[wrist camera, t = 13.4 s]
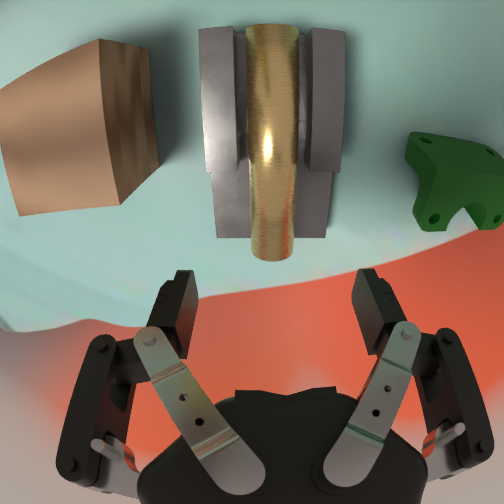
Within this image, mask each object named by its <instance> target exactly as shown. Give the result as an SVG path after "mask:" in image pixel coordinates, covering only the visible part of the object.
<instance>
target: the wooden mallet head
mask: <svg viewBox="0 0 504 504" xmlns="http://www.w3.org/2000/svg"><path fill="white" fill-rule="evenodd" d="M0 145H1V151H2V155H3V160H4V165H5V169H6V173H7V177H8V181H9V184H10V188H11V191H12V195H13V198H14V201H15V205H16V208H17V211H18V214H19V217H20V216H27V215H34V214H41V213H49V212H57V211H66V210H75V209H84V208H94V207H105V206H117V205H121V204H122V203H123V202H124V201H125V200H126V199H127V198H128V197H129V196H130V195H131V194H132V193H133V192H134V191H135V190H136V189H137V188H138V187H139V186H140V185H141V184H142V183H143V182H144V181H145V180H146V179H147V178H148V177H149V176H150V175H151V174H152V173H153V172H155V171H156V170H157V169H158V168H159V167H160V164H159V157H158V149H157V141H156V132H155V123H154V113H153V102H152V89H151V74H150V54H149V49H146V48H142V47H138V46H134V45H129V44H125V43H120V42H114V41H109V40H103V39H97V40H94V41H91V42H89V43H86V44H84V45H81V46H79V47H77V48H74V49H72V50H70V51H68V52H65V53H63V54H61V55H59V56H57V57H55V58H53V59H51V60H49V61H47V62H45V63H43V64H41V65H39V66H38V67H36V68H34V69H32V70H30V71H29V72H27V73H25V74H24V75H22V76H20V77H19V78H17V79H15V80H14V81H12V82H11V83H9V84H8V85H6V86H5V87H3V88H2V89H0Z"/></svg>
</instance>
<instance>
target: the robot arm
mask: <svg viewBox="0 0 504 504" xmlns="http://www.w3.org/2000/svg"><path fill="white" fill-rule="evenodd" d="M352 304H353V307H354V310H355V313H356V316H357V320H358V323H359V326H360V329H361V332H362V335H363V339H364V341H365V345H366V348H367V352H368V355H375V354H376V355H377V358H378V359H377V361H376V363H375V364H374V367H373V369H372V371H371V372H370V375H369V376H368V378H367V380H366V382H365V384H364V386H363V388H362V390H361V391H360V393H359V395H358V396H357V398H356V399H355V398H352V397H350V396H348V395H345V394H341V393H337V391H336V386H333V387H322V388H311V389H308V390H305V391H301V392H298V393H295V394H291V395H281V394H275V393H270V392H265V391H261V390H235V397H230V398H227V399H224V400H222V401H220V402H218V403H216V404H214V405H213V403H212V402H211V401H210V399H209V398H208V397H207V395H206V394H205V392H204V391H203V390H202V388H201V387H200V385H199V384H198V382H197V381H196V379H195V378H194V377H193V375H192V374H191V372H190V371H189V369H188V368H187V367H186V365H185V364H183V363H182V362H181V360H180V359H187V355H188V349H189V345H190V340H191V335H192V331H193V326H194V321H195V316H196V312H197V307H198V291H197V286H196V281H195V276H194V272H193V270H177V272H176V274H175V277H174V280H167V281H166V282H165V283H164V284H163V285H162V286H161V288H160V290H159V293H158V297H157V298H156V301H155V303H154V306H153V309H152V311H151V314H150V317H149V320H148V323H147V325H146V327H145V328H143V329H141V330H139V331H138V332H137V333H136V335H135V337H134V338H132V339H127V340H121V341H116V340H115V339H114V338H113V337H112V336H111V335H107V334H104V335H99V336H97V337H96V338H94V339H93V340H92V342H91V343H90V345H89V347H88V350H87V353H86V356H85V358H84V361H83V364H82V366H81V370H80V372H79V375H78V378H77V381H76V384H75V387H74V390H73V394H72V397H71V400H70V404H69V407H68V411H67V414H66V418H65V422H64V425H63V429H62V434H61V438H60V442H59V447H58V451H57V456H56V468H57V470H58V472H59V474H60V475H61V476H62V477H63V478H64V479H66V480H68V481H70V482H73V483H76V484H77V485H79V486H82V487H85V488H88V489H91V490H94V491H100V492H103V493H107V494H109V493H110V494H111V493H116V494H120V495H123V496H127V497H132V498H136V499H139V500H140V502H141V504H420V503H421V498H422V494H423V491H424V488H425V485H426V483H427V482H430V481H433V480H435V479H438V478H439V479H447V478H449V477H452V476H454V475H457V474H459V473H461V472H463V471H465V470H468V469H470V468H472V467H474V466H476V465H478V464H480V463H482V462H484V461H486V460H487V459H488V458H489V457H490V456H491V455H492V453H493V450H494V438H493V434H492V430H491V426H490V422H489V418H488V415H487V412H486V408H485V405H484V402H483V398H482V395H481V392H480V390H479V386H478V384H477V381H476V378H475V375H474V373H473V370H472V368H471V365H470V362H469V360H468V357H467V355H466V353H465V350H464V348H463V346H462V343H461V341H460V339H459V337H458V335H457V334H456V333H455V332H454V331H453V330H451V329H449V328H441V329H439V330H438V331H437V333H436V335H432V334H427V333H421V332H420V330H419V328H418V327H417V326H416V325H415V324H413V323H411V322H408V321H407V319H406V317H405V315H404V313H403V310H402V308H401V306H400V304H399V302H398V300H397V298H396V296H395V294H394V292H393V290H392V288H391V286H390V284H389V283H388V282H386V281H385V280H384V279H383V278H379V277H378V275H377V273H376V271H375V270H374V269H373V268H367V269H359V270H358V272H357V275H356V279H355V283H354V286H353V290H352ZM412 375H413V376H414V378H415V382H416V386H417V389H418V393H419V397H420V401H421V406H422V410H423V414H424V419H425V423H426V428H427V433H428V435H427V436H426V437H425V439H424V441H423V447H422V454H421V453H420V452H419V451H417V450H416V449H415V448H414V447H412V446H411V445H410V444H409V443H408V442H406V441H405V440H404V439H403V438H402V437H400V436H399V435H398V434H397V433H395V432H394V431H393V430H392V429H391V426H392V423H393V421H394V419H395V417H396V414H397V412H398V410H399V408H400V405H401V403H402V400H403V398H404V395H405V393H406V390H407V388H408V385H409V382H410V380H411V377H412ZM148 381H151V382H152V384H153V386H154V388H155V390H156V392H157V393H158V395H159V397H160V399H161V401H162V402H163V404H164V406H165V408H166V409H167V411H168V413H169V415H170V416H171V418H172V420H173V421H174V423H175V424H176V426H177V428H178V429H179V431H180V432H181V434H182V435H181V436H180V437H179V438H177V439H176V440H175V441H174V442H173V443H172V444H171V445H170V446H169V447H168V448H166V449H165V450H164V451H163V452H162V453H161V454H160V455H158V457H156V458H155V459H154V460H153V461H151V462H150V463H149V464H148V465H147V466H146V467H145V468H144V469H143V470H142V471H141V473H140V472H139V471H138V470H137V468H136V465H135V457H134V454H133V452H132V450H131V449H130V448H129V447H128V446H126V445H125V444H126V437H127V431H128V425H129V419H130V414H131V409H132V403H133V398H134V393H135V389H136V384H137V383H142V382H148Z"/></svg>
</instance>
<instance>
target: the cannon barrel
mask: <svg viewBox="0 0 504 504" xmlns="http://www.w3.org/2000/svg"><path fill="white" fill-rule="evenodd" d="M246 64H247V102H248V139H249V176H250V213H251V249H252V253H253V255H254V256H256V257H257V258H259V259H261V260H265V261H281V260H284V259H286V258H288V257H290V256H291V254H292V253H293V242H294V227H295V211H296V192H297V169H298V139H299V29H298V28H296V27H294V26H290V25H284V24H258V25H253V26H249V27H247V28H246Z"/></svg>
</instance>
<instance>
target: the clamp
mask: <svg viewBox="0 0 504 504" xmlns="http://www.w3.org/2000/svg"><path fill="white" fill-rule="evenodd" d="M405 159H406V161H407V162H408V163H409V165H410V166H411V167H412V168H413V170H414V171H415V172H416V174H417V175H418V176H419V178H420V179H421V180H422V182H421V185H420V188H419V192H418V195H417V198H416V201H415V204H414V207H413V215H414V217H415V219H416V221H417V223H418V224H419V226H420V228H421V229H422V230H423V231H426V232H434V231H446V229H447V226H448V223H449V222H450V220H451V218H452V217H453V216H454V215H455V214H456V213H457V212H458V211H459V210H460V209H461V208H463V207H464V208H465V209H466V211H467V212H468V214H469V215H470V217H471V218H472V220H473V221H474V223H475V224H476V226H477V227H478V229H479V230H493V229H496V228H498V227H499V226H500V225H501V224H502V223H503V221H504V159H503V158H502V157H501V156H500V155H499V154H498V153H497V152H495V151H494V150H493V149H491V148H489V147H487V146H485V145H482V144H478V143H473V142H469V141H464V140H459V139H454V138H448V137H443V136H437V135H430V134H423V133H411V134H410V136H409V141H408V146H407V151H406V155H405Z"/></svg>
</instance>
